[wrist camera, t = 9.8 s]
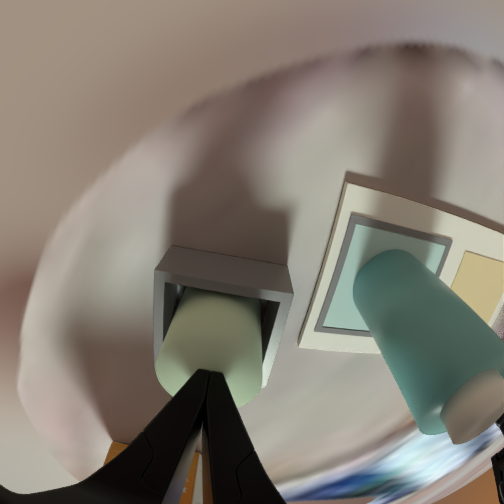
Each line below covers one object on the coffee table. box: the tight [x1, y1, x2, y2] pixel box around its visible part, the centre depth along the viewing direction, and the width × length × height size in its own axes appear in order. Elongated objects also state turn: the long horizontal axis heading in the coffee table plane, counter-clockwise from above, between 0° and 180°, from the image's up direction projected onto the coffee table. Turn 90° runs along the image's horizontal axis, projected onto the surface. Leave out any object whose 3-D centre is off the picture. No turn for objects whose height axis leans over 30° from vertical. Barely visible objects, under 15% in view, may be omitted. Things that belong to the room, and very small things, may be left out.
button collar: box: [153, 246, 294, 388], centre depth 12 cm, size 5×5×2 cm
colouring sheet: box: [297, 182, 504, 354], centre depth 13 cm, size 13×8×1 cm, turn 80°
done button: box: [155, 286, 263, 408], centre depth 11 cm, size 4×4×4 cm
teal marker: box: [353, 249, 504, 444], centre depth 9 cm, size 4×4×8 cm
